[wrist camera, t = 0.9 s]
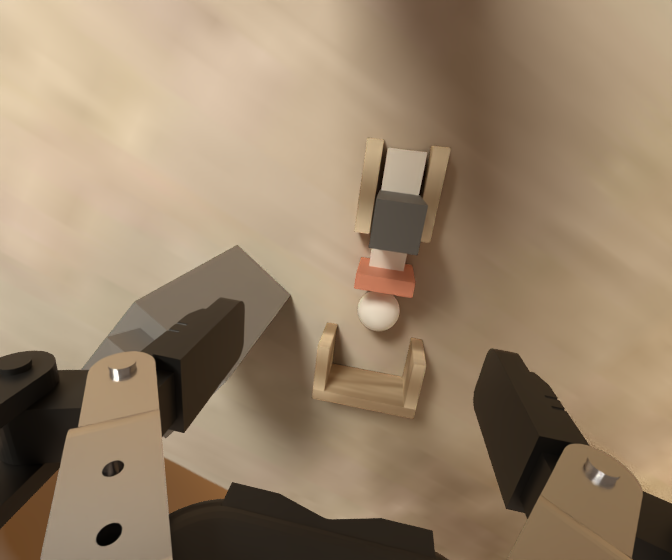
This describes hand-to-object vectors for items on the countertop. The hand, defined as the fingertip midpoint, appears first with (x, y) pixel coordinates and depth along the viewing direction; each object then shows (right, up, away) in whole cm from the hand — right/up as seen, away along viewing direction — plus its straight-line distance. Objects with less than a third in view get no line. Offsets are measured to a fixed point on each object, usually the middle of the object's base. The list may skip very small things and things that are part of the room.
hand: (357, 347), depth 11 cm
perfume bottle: (-10, +1, +22) cm, 24 cm away
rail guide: (+4, +10, +16) cm, 20 cm away
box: (+3, -5, +22) cm, 23 cm away
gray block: (+4, +8, +17) cm, 19 cm away
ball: (+3, 0, +18) cm, 18 cm away
